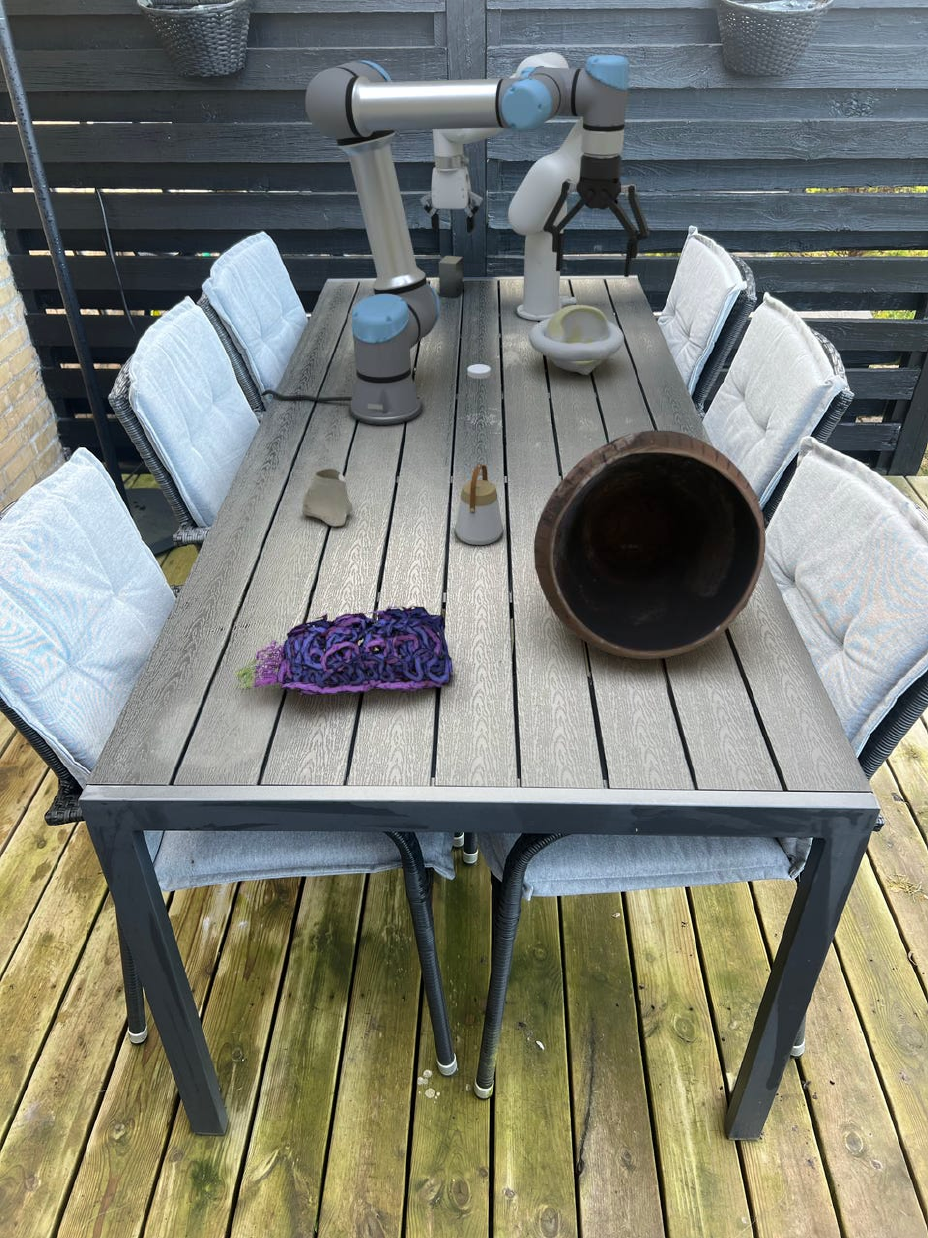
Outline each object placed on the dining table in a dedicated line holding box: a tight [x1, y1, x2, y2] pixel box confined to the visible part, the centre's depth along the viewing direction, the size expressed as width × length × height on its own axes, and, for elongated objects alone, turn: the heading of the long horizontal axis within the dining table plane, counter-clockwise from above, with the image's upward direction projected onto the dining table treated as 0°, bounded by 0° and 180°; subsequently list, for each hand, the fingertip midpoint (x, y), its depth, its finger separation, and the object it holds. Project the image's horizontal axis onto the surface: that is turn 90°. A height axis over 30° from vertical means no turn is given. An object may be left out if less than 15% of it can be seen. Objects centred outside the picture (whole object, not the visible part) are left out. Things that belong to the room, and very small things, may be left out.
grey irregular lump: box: [301, 468, 353, 528], centre depth 164 cm, size 9×8×10 cm
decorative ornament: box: [235, 605, 454, 697], centre depth 129 cm, size 13×11×30 cm
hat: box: [528, 304, 625, 376], centre depth 215 cm, size 25×22×15 cm
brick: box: [438, 255, 464, 298], centre depth 261 cm, size 7×5×9 cm
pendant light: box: [455, 363, 503, 546], centre depth 153 cm, size 8×8×30 cm
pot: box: [533, 429, 767, 660], centre depth 139 cm, size 32×32×30 cm
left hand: (592, 272), depth 183 cm, fingers open, 13 cm apart
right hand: (453, 230), depth 253 cm, fingers open, 9 cm apart
